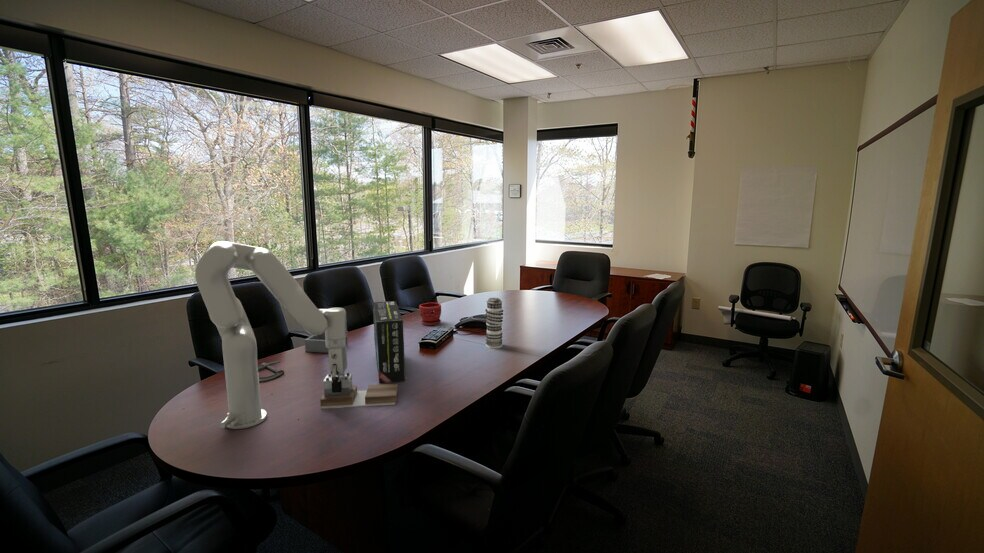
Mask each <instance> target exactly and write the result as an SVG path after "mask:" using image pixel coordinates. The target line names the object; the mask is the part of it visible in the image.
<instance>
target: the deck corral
mask: <svg viewBox="0 0 984 553" xmlns="http://www.w3.org/2000/svg"><path fill="white" fill-rule="evenodd" d="M304 349H305V352H306V353H307V352H309V353H327V354H329V348H327V347H326V342H325V332H324V333H322V334H321V335H317V336H314V335H310V336H309V337H307V338H305V339H304Z"/></svg>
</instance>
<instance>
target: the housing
mask: <svg viewBox="0 0 984 553" xmlns="http://www.w3.org/2000/svg"><path fill="white" fill-rule="evenodd" d="M336 377H338V375H336ZM340 381H341V392H336V393H333V392H332V375H331V374H330V373H328V374H326V376H325V377H324V379H323V394H324V397H326V396H345V395H350V394H351V391H352V389H353V387H352V386H353V374H352V373H350V372H346V373H344V374H340Z"/></svg>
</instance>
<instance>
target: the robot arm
mask: <svg viewBox="0 0 984 553" xmlns="http://www.w3.org/2000/svg"><path fill="white" fill-rule="evenodd" d="M231 269H239V270H244V271H251V272H253V274H254V275H255V276H256V277H257V278H258V279H259V280H260V282H261V283H262V284H263V285H264V286H265V287H266V288H267V290H268V291H269V292H270V293H271V294H272V295H273V297H274V298H275V299H276V300H277V301H278V302H279V304H281V305H282V306H283V307H284V308H285V309H286V310H287V311H288V312H289V313H290V315H291V316H292V317H293V318H294V319H295V320H296V321H297V323H298V324H299V325H300V326H301V327H302V328H303V330H304V331H305V332H306V333H307V334H309V335H310V336H312V335H314V336H317V335H321V334H322V333H324V332H325V342H326V347H327V348H329V353H328V370H329V373H328V374H331V375H332V392H333V393H336V392H341V381H340V374H345V372H346V370H347V368H348V365H349V364H348V356H347V355H348V354H347V353H348V352H347V346H348V325H347V324H348V323H347V311H346V308H343V307H329V308H318V307H317V306H316V305H315V303H313V301H312V300H311V299H310V297H309V296H308V295H307V293H306V292H305V291H304V289H303V287H302V286H301V285H300V284H299V282H298V281H297V279H295V278H294V276H293V275H292V274H291V273H290V271H289V270H288V269H287V268H286V267H285V266H284V264H283V263H282V262H281V261H280V259H279V258H278V257H277V256H276V255H275V254H274V252H272V251H271V250H269V249H268V248H266V247H260V246H255V245H254V246H253V245H248V244H242V243H238V242H232V241H226V240H219V241H215V242H214V243H212V244H211V245H210V246H209V247H208V249H207V251H206V252H204V254H203V255H202V256H201V258H199V260H198V262H197V264H196V267H195V270H194V271H195V272H194V274H195V276H194V277H195V283H196V285H197V288H198V290H199V292H200V295H201V297H202V301H203V302H204V305H205V307H206V309H207V310H206V311H207V312H208V316H209V319H210V321H211V322H212V323H213V324H214V325H215V326H216V328H217V331H218V334H219V336H220V338H221V348H222V357H223V368H224V377H225V387H226V395H227V396H226V398H227V406H228V407H227V408H228V412H227V414H226V416H227V417H225V419H224V420H223V421H221V422H220V423H219V428H221V429H224V428H227V429H231V430H232V429H233V430H239V429H241V430H242V429H247V428H251V427H254V426H257V425H259V424H261V423H262V422H264V421H265V420H266V419H267V417H268V413H267V411H266V410H265V409H263V408H262V402H261V400H262V399H261V390H260V389H261V388H260V382H259V377H260V375H259V371H258V367H259V366H258V347H257V345H258V344H257V339H256V336H255V332H254V329H253V328H252V325H251V323H250V320H249V318H248V316H247V313H246V311H245V309H244V306H243V305H242V302H241V300H240V299H239V298H237V297H236V295H235V292H234V289H233V286H232V284H231V281H230V279H229V271H230V270H231ZM336 375H338V377H336Z"/></svg>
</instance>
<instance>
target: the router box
mask: <svg viewBox="0 0 984 553" xmlns="http://www.w3.org/2000/svg"><path fill="white" fill-rule="evenodd" d="M372 316H373V331H374V332H373V335H374V346H375V347H374V348H375V358H376V368H377V374H378V375H377V376H378V383H379V384H392V383H398V382H404V381H406V364H405V363H406V362H405V361H406V360H405V340H404V338H405V337H404V319H403V317H402V314H401V311H400V309H399V306H398V304H397V301H396V300H393V301H392V300H391V301H387V300H386V301H374V302H373V305H372Z"/></svg>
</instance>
